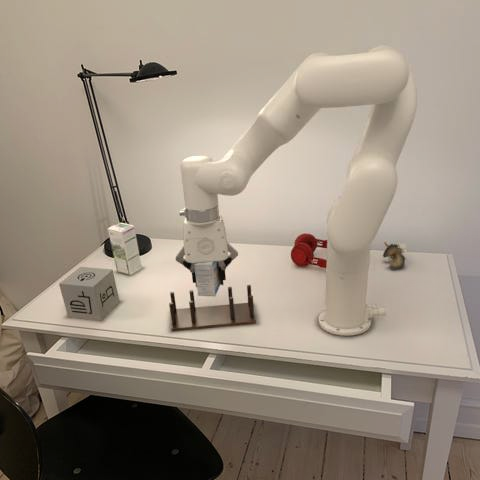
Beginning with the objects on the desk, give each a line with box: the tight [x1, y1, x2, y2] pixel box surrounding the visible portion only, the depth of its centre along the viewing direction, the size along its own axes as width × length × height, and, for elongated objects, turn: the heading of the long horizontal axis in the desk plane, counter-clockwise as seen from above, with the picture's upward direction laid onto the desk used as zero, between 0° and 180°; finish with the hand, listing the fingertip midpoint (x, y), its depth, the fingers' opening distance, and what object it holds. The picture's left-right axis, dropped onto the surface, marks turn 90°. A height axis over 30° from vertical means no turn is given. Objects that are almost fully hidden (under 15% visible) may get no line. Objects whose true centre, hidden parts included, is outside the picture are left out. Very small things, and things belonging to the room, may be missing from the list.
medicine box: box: [195, 261, 221, 297], centre depth 125 cm, size 8×4×9 cm, turn 170°
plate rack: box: [168, 284, 257, 332], centre depth 130 cm, size 21×10×7 cm, turn 94°
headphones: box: [290, 232, 327, 269], centre depth 155 cm, size 15×7×20 cm
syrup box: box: [107, 222, 143, 276], centre depth 155 cm, size 6×6×14 cm
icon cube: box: [58, 266, 120, 322], centre depth 137 cm, size 10×10×10 cm
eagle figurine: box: [382, 241, 408, 271], centre depth 151 cm, size 8×7×9 cm
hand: (209, 283), depth 127 cm, fingers closed on medicine box, 5 cm apart
